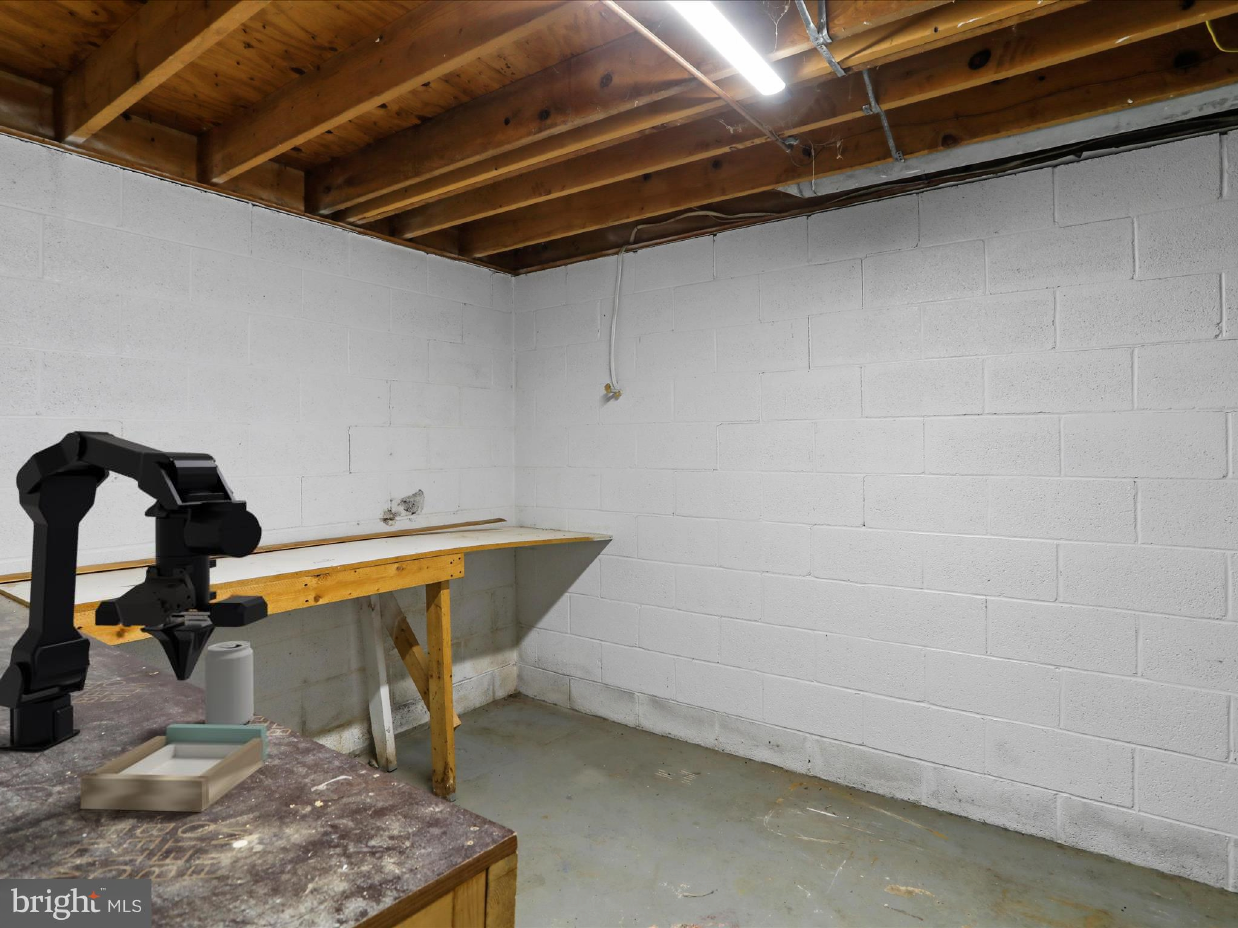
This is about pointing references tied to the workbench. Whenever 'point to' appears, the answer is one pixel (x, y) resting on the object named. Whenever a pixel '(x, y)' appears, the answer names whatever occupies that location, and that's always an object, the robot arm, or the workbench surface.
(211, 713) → the beverage can
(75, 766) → the workbench surface
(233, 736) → the tray
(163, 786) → the dock
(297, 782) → the workbench surface
